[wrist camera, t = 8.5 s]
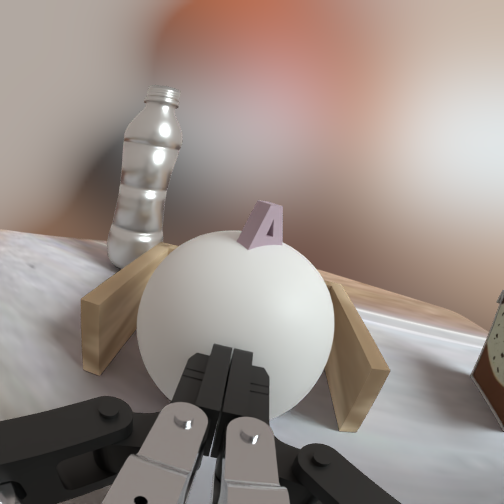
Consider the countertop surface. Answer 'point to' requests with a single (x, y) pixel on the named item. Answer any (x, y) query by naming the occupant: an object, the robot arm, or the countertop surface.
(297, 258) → the ornament
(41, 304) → the countertop surface
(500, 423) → the food container
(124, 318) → the bay
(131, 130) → the plastic bottle
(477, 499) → the countertop surface
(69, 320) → the countertop surface
